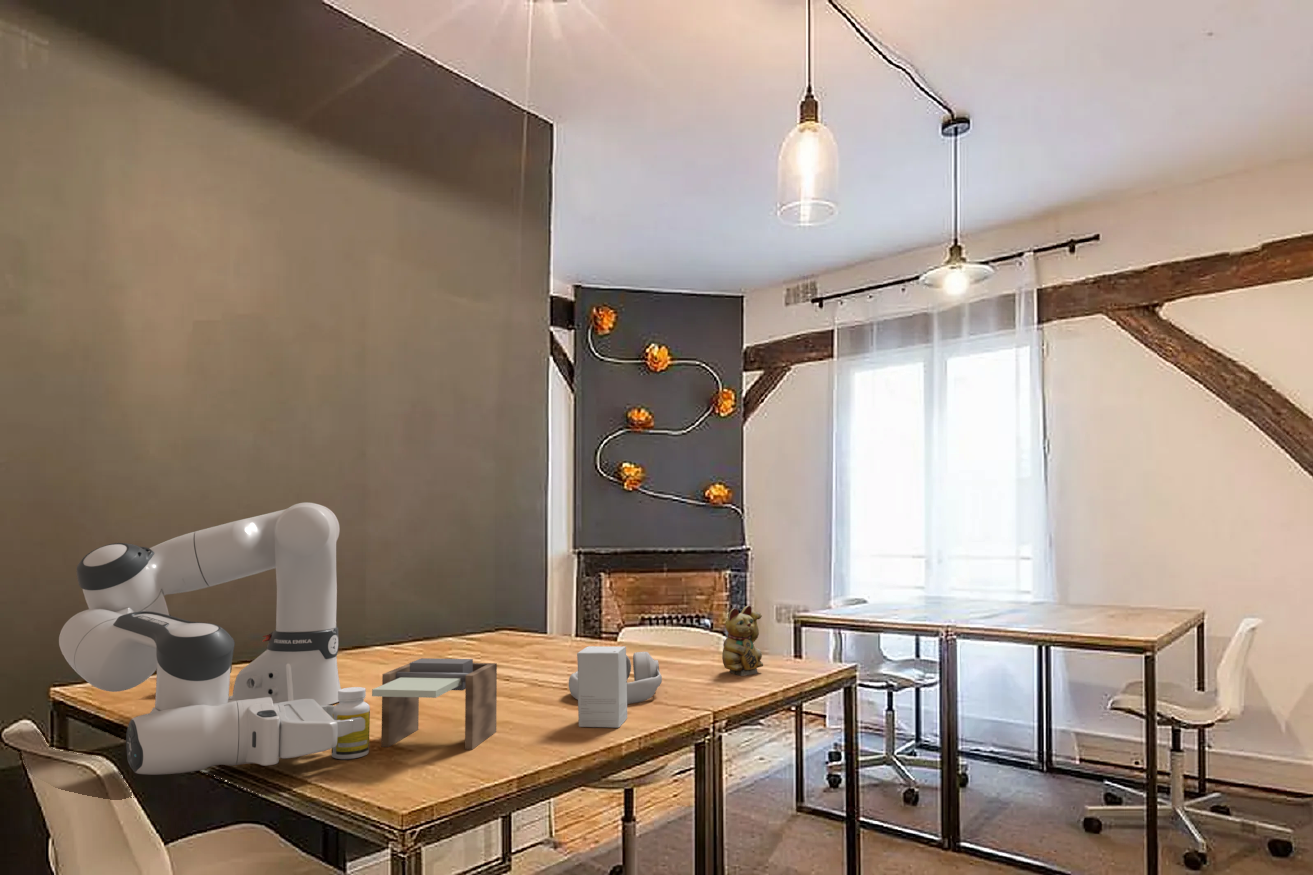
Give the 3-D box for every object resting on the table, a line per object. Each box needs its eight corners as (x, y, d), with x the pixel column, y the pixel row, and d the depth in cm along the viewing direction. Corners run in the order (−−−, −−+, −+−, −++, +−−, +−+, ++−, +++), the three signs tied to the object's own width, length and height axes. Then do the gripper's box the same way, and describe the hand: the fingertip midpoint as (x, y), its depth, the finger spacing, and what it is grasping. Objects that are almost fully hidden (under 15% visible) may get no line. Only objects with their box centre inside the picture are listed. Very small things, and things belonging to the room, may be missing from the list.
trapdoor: (413, 683, 143) (413, 658, 143) (480, 685, 141) (480, 659, 141) (366, 705, 127) (366, 676, 127) (441, 707, 125) (441, 677, 126)
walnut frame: (411, 729, 146) (412, 662, 147) (496, 731, 143) (496, 663, 144) (381, 746, 135) (382, 674, 136) (472, 749, 132) (472, 675, 133)
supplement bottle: (376, 754, 130) (377, 688, 131) (342, 762, 126) (344, 694, 127) (357, 748, 134) (358, 684, 135) (324, 756, 130) (326, 690, 131)
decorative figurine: (738, 678, 187) (737, 608, 189) (712, 673, 194) (711, 606, 195) (768, 672, 194) (766, 605, 195) (741, 667, 200) (740, 602, 201)
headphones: (595, 679, 185) (556, 713, 166) (593, 644, 185) (554, 673, 166) (676, 684, 179) (646, 719, 160) (674, 647, 179) (644, 678, 160)
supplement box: (628, 718, 152) (627, 645, 153) (619, 728, 144) (618, 652, 145) (588, 717, 153) (587, 645, 154) (576, 727, 146) (576, 651, 147)
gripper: (249, 736, 133) (342, 724, 140) (266, 769, 115) (372, 753, 122) (250, 695, 133) (343, 684, 140) (267, 721, 116) (372, 708, 123)
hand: (357, 717), depth 131 cm, fingers open, 8 cm apart
